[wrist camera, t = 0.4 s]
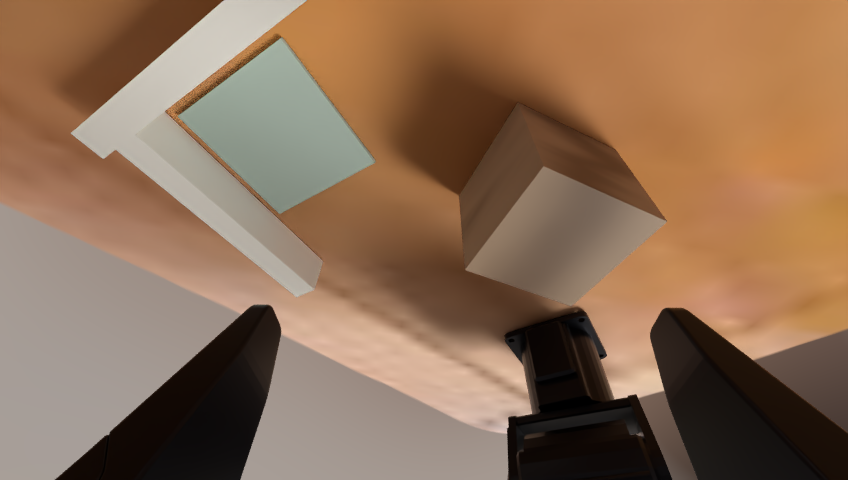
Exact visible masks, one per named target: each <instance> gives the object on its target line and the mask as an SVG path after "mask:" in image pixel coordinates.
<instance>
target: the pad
mask: <svg viewBox="0 0 848 480" xmlns="http://www.w3.org/2000/svg"><path fill="white" fill-rule="evenodd" d="M178 117H179V118H180V119H181V120H182V121H183V122H184V123H185V124H186V125H187V126H188V127H189V128H190V129H191V130H192V131H193V132H194V133H195V134H196V135H197V136H198V137H200V138H201V139H202V140H203V141H204V142H205V143H206V144H207V145H208V146H209V147H210V148H211V149H212V150H213V151H214V152H215V153H216V154H217V155H218V156H219V157H220V158H221V159H223V160H224V161H225V162H226V163H227V164H228V165H229V166H230V167H231V168H232V169H233V170H234V171H235V172H236V173H237V174H238V175H239V176H240V177H241V178H242V179H243V180H244V181H246V182H247V183H248V184H249V185H250V186H251V187H252V188H253V189H254V190H255V191H256V192H257V193H258V194H259V195H260V196H261V197H262V198H263V199H264V200H265V201H266V202H267V203H269V204H270V205H271V206H272V207H273V208H274V209H275V210H276V211H277V212H278V213H279V214H281V213H282V212H284V211H286V210H288V209H290V208H292V207H294V206H295V205H297V204H299V203H301V202H303V201H305V200H307V199H308V198H310V197H312V196H314V195H316V194H318V193H320V192H321V191H323V190H325V189H327V188H329V187H331V186H333V185H334V184H336V183H338V182H340V181H342V180H344V179H346V178H347V177H349V176H351V175H353V174H355V173H357V172H359V171H360V170H362V169H364V168H366V167H368V166H370V165H372V164H374V163H375V161H376V160H375V159H374V158H373V156H372V155H371V154H370V152H369V151H368V150H367V148H366V147H365V146H364V145H363V143H362V142H361V141H360V139H359V138H358V137H357V135H356V134H355V133H354V131H353V130H352V129H351V127H350V126H349V125H348V123H347V122H346V121H345V119H344V118H343V117H342V115H341V114H340V113H339V111H338V110H337V109H336V107H335V106H334V105H333V104H332V102H331V101H330V100H329V98H328V97H327V96H326V94H325V93H324V92H323V90H322V89H321V88H320V86H319V85H318V84H317V82H316V81H315V80H314V78H313V77H312V76H311V74H310V73H309V72H308V70H307V69H306V68H305V66H304V65H303V64H302V62H301V61H300V60H299V59H298V57H297V56H296V55H295V53H294V52H293V51H292V49H291V48H290V47H289V45H288V44H287V43H286V41H285V40H284V39H283V37H281V38H280V39H279V40H277V41H276V42H275V43H274V44H272V45H271V46H270V47H268V48H267V49H266V50H264V51H263V52H262V53H260V54H259V55H258V56H256V57H255V58H254V59H252V60H251V61H250V62H248V63H247V64H246V65H245V66H243V67H242V68H241V69H239V70H238V71H237V72H235V73H234V74H233V75H231V76H230V77H229V78H227V79H226V80H225V81H223V82H222V83H221V84H219V85H218V86H217V87H215V88H214V89H213V90H212V91H210V92H209V93H208V94H206V95H205V96H204V97H202V98H201V99H200V100H198V101H197V102H196V103H194V104H193V105H192V106H190V107H189V108H188V109H186V110H185V111H184V112H182V113H181V114H180V115H179V116H178Z"/></svg>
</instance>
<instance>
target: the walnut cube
mask: <svg viewBox="0 0 848 480" xmlns="http://www.w3.org/2000/svg"><path fill="white" fill-rule="evenodd" d="M459 201H460V214H461V227H462V239H463V252H464V265H465V270H466V271H469V272H472V273H475V274H478V275H481V276H484V277H487V278H490V279H493V280H495V281H498V282H501V283H504V284H507V285H510V286H513V287H516V288H519V289H522V290H525V291H528V292H531V293H533V294H536V295H539V296H542V297H545V298H548V299H551V300H554V301H557V302H560V303H563V304H566V305H568V306H572V305H573V304H575V303H576V302H577V301H578V300H579V299H580V298H581V297H583V296H584V295H585V294H586V293H587V292H588V291H589V290H590V289H592V288H593V287H594V286H595V285H596V284H597V283H598V282H599V281H601V280H602V279H603V278H604V277H605V276H606V275H607V274H609V273H610V272H611V271H612V270H613V269H614V268H615V267H616V266H618V265H619V264H620V263H621V262H622V261H623V260H624V259H625V258H627V257H628V256H629V255H630V254H631V253H632V252H633V251H634V250H636V249H637V248H638V247H639V246H640V245H641V244H642V243H644V242H645V241H646V240H647V239H648V238H649V237H650V236H651V235H653V234H654V233H655V232H656V231H657V230H658V229H659V228H660V227H662V226H663V225H664V224H665V223H666V222H667V220H666V219H665V218H664V216H663V215H662V214H661V212H660V211H659V209H658V208H657V207H656V205H655V204H654V202H653V201H652V200H651V198H650V197H649V195H648V194H647V193H646V191H645V190H644V188H643V187H642V186H641V184H640V183H639V182H638V180H637V179H636V177H635V176H634V175H633V173H632V172H631V170H630V169H629V168H628V166H627V165H626V163H625V162H624V161H623V159H622V158H621V156H620V155H619V154H618V152H617V151H616V150H615V149H613V148H611V147H609V146H607V145H605V144H603V143H601V142H598V141H596V140H594V139H592V138H590V137H588V136H586V135H584V134H582V133H580V132H578V131H576V130H574V129H572V128H570V127H568V126H566V125H564V124H562V123H560V122H558V121H555V120H553V119H551V118H549V117H547V116H545V115H543V114H541V113H539V112H537V111H535V110H533V109H531V108H529V107H527V106H525V105H523V104H521V103H519V102H517V104H516V106H515V107H514V109H513V110H512V112H511V114H510V115H509V117H508V118H507V120H506V122H505V123H504V125H503V126H502V128H501V130H500V131H499V133H498V134H497V136H496V138H495V139H494V141H493V142H492V144H491V145H490V147H489V149H488V150H487V152H486V153H485V155H484V157H483V158H482V160H481V161H480V163H479V165H478V166H477V168H476V169H475V171H474V173H473V174H472V176H471V177H470V179H469V181H468V182H467V184H466V185H465V187H464V188H463V190H462V192H461V193H460V195H459Z"/></svg>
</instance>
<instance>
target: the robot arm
mask: <svg viewBox="0 0 848 480" xmlns="http://www.w3.org/2000/svg"><path fill="white" fill-rule="evenodd" d="M280 337H281V327H280V324H279V321H278V319H277V317H276V314H275V312H274V310H273V308H272V307H271V306H270V305H253V306H251V307H250V308H248V309H247V310H246V311H245V312H244V313H243V314H242V315H240V316H239V317H238V318H237V319H236V320H235V321H234V322H233V323H231V325H229V326H228V327H227V328H226V329H225V330H224V331H223V332H221V333H220V334H219V335H218V336H217V337H216V338H215V339H214V340H212V341H211V342H210V343H209V344H208V345H207V346H206V347H205V348H203V349H202V350H201V351H200V352H199V353H198V354H197V355H196V356H195V357H193V358H192V359H191V360H190V361H189V362H188V363H187V364H186V365H184V366H183V367H182V368H181V369H180V370H179V371H178V372H177V373H175V374H174V375H173V376H172V377H171V378H170V379H169V380H168V381H167V382H165V383H164V384H163V385H162V386H161V387H160V388H159V389H157V391H155V392H154V393H153V394H152V395H151V396H150V397H148V398H147V399H146V400H145V401H144V402H143V403H142V404H141V405H139V406H138V407H137V408H136V409H135V410H134V411H133V412H132V413H131V414H129V415H128V416H127V417H126V418H125V419H124V420H123V421H122V422H120V424H118V425H117V426H116V427H115V428H114V429H113V430H112V431H111V432H110V434H109V435H106V436H104V437H103V438H102V439H101V440H100V441H99V442H98V443H97V444H96V445H94V446H93V447H92V448H91V449H90V450H89V451H88V452H87V453H85V454H84V455H83V456H82V457H81V458H80V459H79V460H77V461H76V462H75V463H74V464H73V465H72V466H71V467H69V468H68V469H67V470H66V471H64V472H63V473H62V474H61V475H60V476H59V477H58V478H56V479H55V480H240V479H241V476H242V473H243V470H244V467H245V463H246V461H247V458H248V455H249V452H250V449H251V446H252V442H253V440H254V437H255V433H256V431H257V427H258V425H259V422H260V418H261V415H262V412H263V409H264V406H265V403H266V399H267V396H268V392H269V388H270V384H271V379H272V374H273V370H274V365H275V360H276V355H277V351H278V346H279V342H280ZM650 339H651V343H652V347H653V350H654V354H655V358H656V361H657V365H658V369H659V372H660V376H661V380H662V383H663V387H664V391H665V394H666V398H667V401H668V404H669V407H670V409H671V412H672V415H673V417H674V420H675V422H676V425H677V427H678V430H679V433H680V435H681V438H682V440H683V443H684V445H685V448H686V450H687V453H688V455H689V458H690V460H691V463H692V465H693V468H694V471H695V473H696V476H697V478H698V480H848V432H846V431H845V430H844V429H842V428H841V427H840V426H838V425H837V424H836V423H834V422H833V421H832V420H831V419H829V418H828V417H827V416H825V415H824V414H822V413H821V412H820V411H819V410H817V409H816V408H815V407H814V406H812V405H811V404H810V403H808V402H807V401H806V400H804V399H803V398H802V397H800V396H799V395H798V394H796V393H795V392H794V391H793V390H791V389H790V388H788V387H787V386H786V385H785V384H783V383H782V382H780V381H779V380H778V379H777V378H775V377H774V376H773V375H771V374H770V373H769V372H768V371H766V370H765V369H764V368H762V367H761V366H760V365H759V364H757V363H756V362H755V361H753V360H752V359H751V358H749V357H748V356H747V355H745V354H744V353H743V352H742V351H740V350H739V349H738V348H736V347H735V346H734V345H732V344H731V343H730V342H728V341H727V340H726V339H725V338H723V337H722V336H721V335H719V334H718V333H717V332H715V331H714V330H713V329H711V328H710V327H709V326H708V325H706V324H705V323H704V322H702V321H701V320H700V319H698V318H697V317H696V316H694V315H693V314H692V313H691V312H689V311H688V310H686V309H683V308H665V309H663V310H662V311H661V313H660V314H659V316H658V318H657V320H656V322H655V323H654V325H653V327H652V329H651V332H650ZM505 342H506V343H507V345H508V346H509V347H510V349H511V350H512V351H513V352H514V354H515V355H516V356H517V358H518V359H519V360H520V361H521V363H522V364H523V366H524V371H525V377H526V382H527V388H528V393H529V398H530V404H531V409H532V414H530V415H525V416H519V417H517V416H511V417H508V422H509V428H507V436H508V437H507V438H508V468H509V469H508V470H509V471H508V480H672V478H671V475H670V472H669V470H668V467H667V465H666V462H665V460H664V458H663V455H662V453H661V450H660V448H659V446H658V443H657V441H656V439H655V436H654V434H653V432H652V430H651V427H650V425H649V423H648V420H647V418H646V416H645V414H644V411H643V409H642V407H641V404H640V402H639V400H638V397H637V395H636V394H635V395H630V396H628V397H627V398H621V399H615V400H614V397H613V394H612V391H611V388H610V385H609V383H608V380H607V377H606V374H605V371H604V369H603V366H602V363H601V360H600V359H603V358H605V357H606V356H607V354H606V351H605V349H604V347H603V345H602V343H601V341H600V339H599V337H598V335H597V333H596V331H595V329H594V327H593V325H592V323H591V321H590V319H589V317H588V315H587V313H586V312H577V313H573V314H570V315H567V316H563V317H560V318H557V319H553V320H550V321H547V322H543V323H540V324H537V325H534V326H530V327H527V328H524V329H520V330H517V331H514V332H510V333H507V334H506V335H505ZM638 433H639V435H640V436H638V435H636V434H638ZM631 434H634V435H631Z"/></svg>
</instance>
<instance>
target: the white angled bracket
mask: <svg viewBox="0 0 848 480" xmlns="http://www.w3.org/2000/svg"><path fill="white" fill-rule="evenodd" d="M305 1H307V0H224V1H223V2H221V3H220V4H219V5H218V6H217V7H216V8H214V9H213V10H212V11H211V12H210V13H209V14H208V15H206V16H205V17H204V18H203V19H202V20H201V21H199V22H198V23H197V24H196V25H195V26H194V27H193V28H191V29H190V30H189V31H188V32H187V33H186V34H184V35H183V36H182V37H181V38H180V39H179V40H178V41H176V42H175V43H174V44H173V45H172V46H171V47H169V48H168V49H167V50H166V51H165V52H164V53H163V54H161V55H160V56H159V57H158V58H157V59H156V60H155V61H153V62H152V63H151V64H150V65H149V66H148V67H146V68H145V69H144V70H143V71H142V72H141V73H140V74H138V75H137V76H136V77H135V78H134V79H133V80H131V81H130V82H129V83H128V84H127V85H126V86H125V87H123V88H122V89H121V90H120V91H119V92H118V93H116V94H115V95H114V96H113V97H112V98H111V99H110V100H108V101H107V102H106V103H105V104H104V105H103V106H101V107H100V108H99V109H98V110H97V111H96V112H95V113H93V114H92V115H91V116H90V117H89V118H88V119H86V120H85V121H84V122H83V123H82V124H81V125H80V126H78V127H77V128H76V129H75V130H74V131H73V132H71V134H72V135H73V136H75V137H76V138H77V139H78V140H80V141H81V142H82V143H83V144H85V145H86V146H87V147H89V148H90V149H91V150H92V151H94V152H95V153H96V154H97V155H99V156H100V157H101V158H102V159H104V158H105V157H107V156H108V155H109V154H110V153H112V152H113V151H114V150H117V151H118V152H119V153H120V154H122V155H123V156H124V157H125V158H127V159H128V160H129V161H130V162H131V163H133V164H134V165H135V166H136V167H138V168H139V169H140V170H141V171H142V172H144V173H145V174H146V175H147V176H149V177H150V178H151V179H152V180H154V181H155V182H156V183H157V184H158V185H160V186H161V187H162V188H163V189H165V190H166V191H167V192H168V193H169V194H171V195H172V196H173V197H174V198H176V199H177V200H178V201H179V202H180V203H182V204H183V205H184V206H185V207H187V208H188V209H189V210H190V211H191V212H193V213H194V214H195V215H196V216H198V217H199V218H200V219H201V220H203V221H204V222H205V223H206V224H207V225H209V226H210V227H211V228H212V229H214V230H215V231H216V232H217V233H218V234H220V235H221V236H222V237H223V238H225V239H226V240H227V241H228V242H229V243H231V244H232V245H233V246H234V247H236V248H237V249H238V250H239V251H240V252H242V253H243V254H244V255H245V256H247V257H248V258H249V259H250V260H252V261H253V262H254V263H255V264H256V265H258V266H259V267H260V268H261V269H263V270H264V271H265V272H266V273H267V274H269V275H270V276H271V277H272V278H274V279H275V280H276V281H277V282H278V283H280V284H281V285H282V286H283V287H285V288H286V289H287V290H288V291H289V292H291V293H292V294H293V295H294V296H296V297H299V296H301V295H303V294H306V293H308V292H310V291H313V290H315V287H316V283H317V280H318V277H319V274H320V270H321V267H322V264H323V261H322V260H321V259H320V258H319V257H318V256H317V255H316V254H315V253H314V252H313V251H312V250H311V249H310V248H309V247H308V246H307V245H305V244H304V243H303V242H302V241H301V240H300V239H299V238H298V237H297V236H296V235H295V234H294V233H293V232H292V231H291V230H290V229H289V228H287V227H286V226H285V225H284V224H283V223H282V222H281V221H280V220H279V219H278V218H277V217H276V216H275V215H274V214H273V213H272V212H271V211H269V210H268V209H267V208H266V207H265V206H264V205H263V204H262V203H261V202H260V201H259V200H258V199H257V198H256V197H255V196H254V195H253V194H251V193H250V192H249V191H248V190H247V189H246V188H245V187H244V186H243V185H242V184H241V183H240V182H239V181H238V180H237V179H236V178H235V177H233V176H232V175H231V174H230V173H229V172H228V171H227V170H226V169H225V168H224V167H223V166H222V165H221V164H220V163H219V162H218V161H217V160H215V159H214V158H213V157H212V156H211V155H210V154H209V153H208V152H207V151H206V150H205V149H204V148H203V147H202V146H201V145H200V144H199V143H197V142H196V141H195V140H194V139H193V138H192V137H191V136H190V135H189V134H188V133H187V132H186V131H185V130H184V129H183V128H182V127H181V126H179V125H178V124H177V123H176V122H175V121H174V120H173V119H172V118H171V117H170V116H169V115H168V114H167V113H166V112H165V111H166V110H167V109H168V108H169V107H171V106H172V105H173V104H175V103H176V102H177V101H178V100H180V99H181V98H182V97H184V96H185V95H186V94H187V93H189V92H190V91H191V90H192V89H194V88H195V87H196V86H198V85H199V84H200V83H201V82H203V81H204V80H205V79H207V78H208V77H209V76H210V75H212V74H213V73H214V72H216V71H217V70H218V69H219V68H221V67H222V66H223V65H225V64H226V63H227V62H228V61H230V60H231V59H232V58H234V57H235V56H236V55H237V54H239V53H240V52H241V51H243V50H244V49H245V48H246V47H248V46H249V45H250V44H251V43H253V42H254V41H255V40H257V39H258V38H259V37H260V36H262V35H263V34H264V33H266V32H267V31H268V30H269V29H271V28H272V27H273V26H275V25H276V24H277V23H278V22H280V21H281V20H282V19H284V18H285V17H286V16H287V15H289V14H290V13H291V12H293V11H294V10H295V9H296V8H298V7H299V6H300V5H302V4H303V3H304V2H305Z"/></svg>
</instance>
